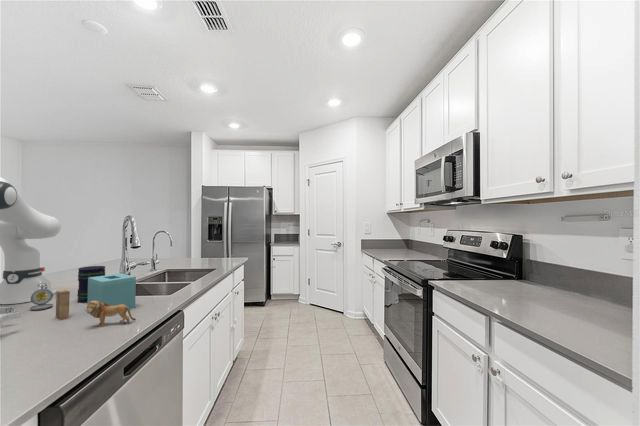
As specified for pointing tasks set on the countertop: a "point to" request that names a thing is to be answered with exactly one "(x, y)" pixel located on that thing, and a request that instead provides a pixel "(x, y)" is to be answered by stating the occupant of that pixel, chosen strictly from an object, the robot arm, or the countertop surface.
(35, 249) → the robot arm
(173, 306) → the countertop surface
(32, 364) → the countertop surface
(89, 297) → the money box
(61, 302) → the block
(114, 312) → the lion figurine
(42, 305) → the pocket watch
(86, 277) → the storage jar
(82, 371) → the countertop surface
